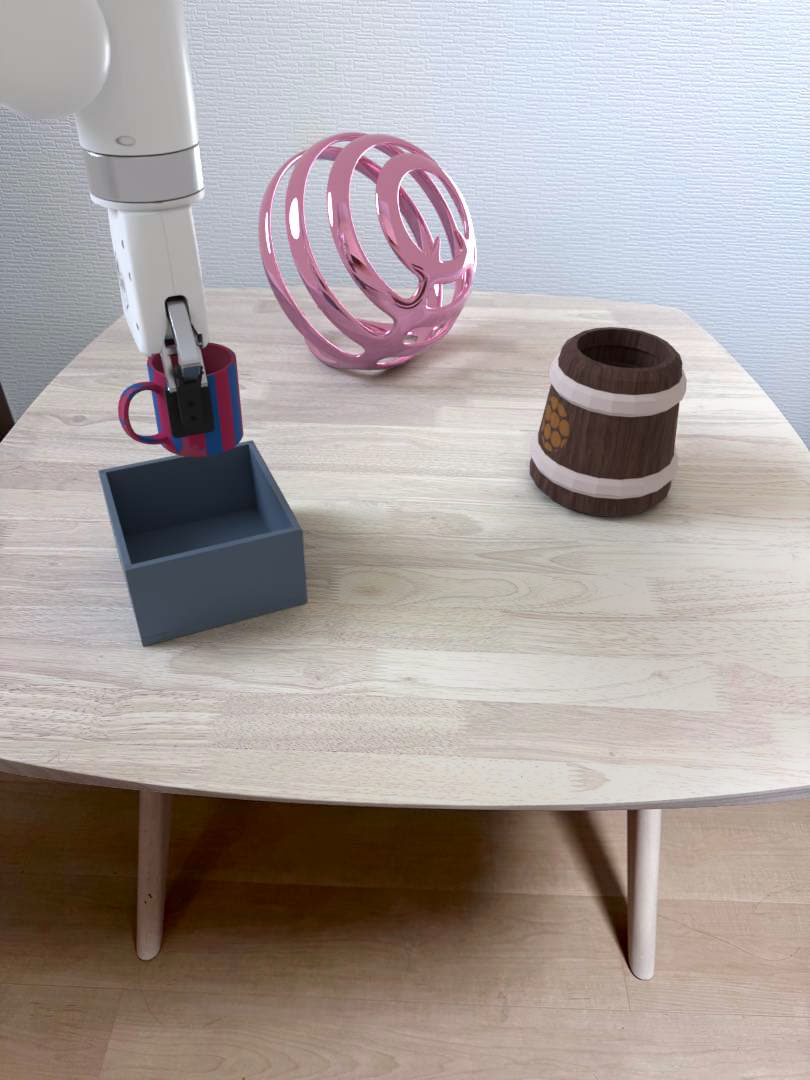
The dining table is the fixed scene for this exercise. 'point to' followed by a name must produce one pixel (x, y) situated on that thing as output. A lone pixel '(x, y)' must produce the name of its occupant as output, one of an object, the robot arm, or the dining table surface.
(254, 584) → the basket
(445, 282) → the spiral basket
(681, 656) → the dining table surface
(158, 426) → the cup
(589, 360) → the mug
